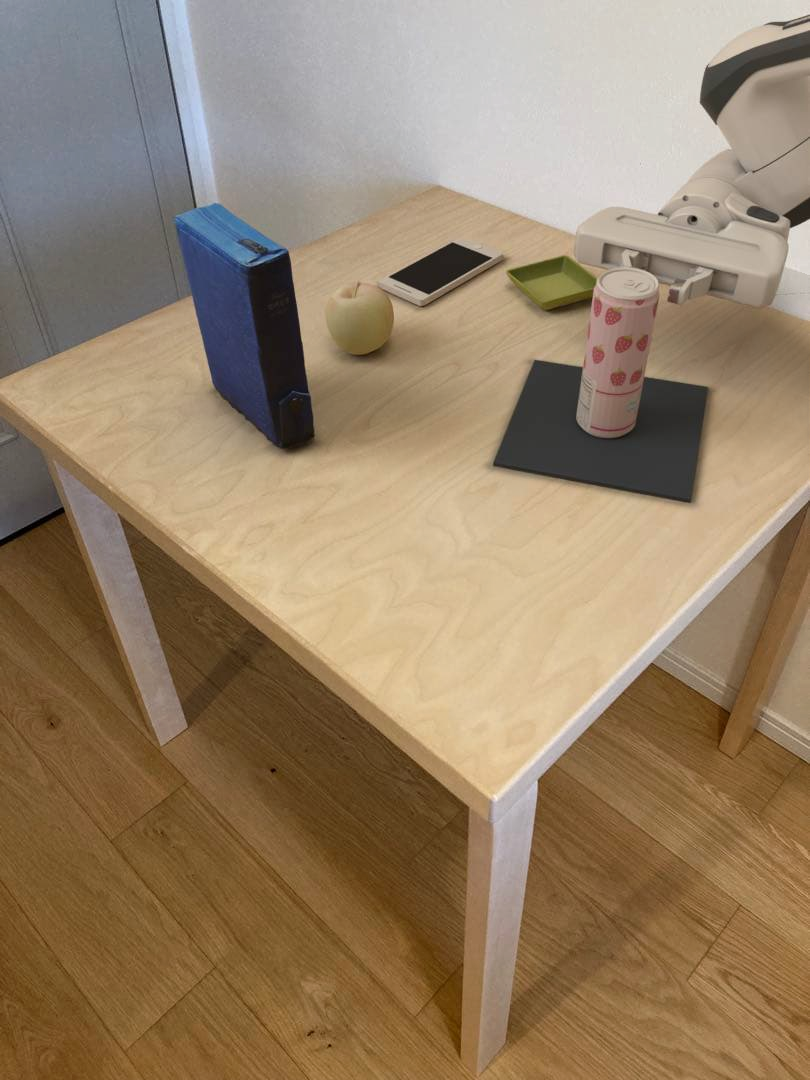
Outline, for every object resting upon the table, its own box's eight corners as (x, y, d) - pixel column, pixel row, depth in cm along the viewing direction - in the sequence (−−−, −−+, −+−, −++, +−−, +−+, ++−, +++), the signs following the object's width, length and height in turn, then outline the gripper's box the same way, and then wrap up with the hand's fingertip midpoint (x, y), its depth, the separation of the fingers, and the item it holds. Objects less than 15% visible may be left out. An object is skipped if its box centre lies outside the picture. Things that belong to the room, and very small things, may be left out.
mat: (707, 389, 91) (708, 386, 91) (690, 502, 79) (691, 499, 79) (534, 362, 96) (534, 359, 95) (493, 465, 84) (493, 462, 83)
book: (325, 440, 87) (303, 246, 73) (278, 462, 85) (247, 266, 71) (250, 375, 95) (218, 190, 81) (206, 393, 93) (165, 206, 79)
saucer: (503, 285, 108) (504, 269, 106) (564, 269, 110) (566, 253, 109) (540, 319, 102) (542, 302, 101) (604, 301, 104) (607, 285, 103)
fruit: (405, 355, 97) (403, 288, 92) (341, 370, 95) (335, 303, 90) (380, 322, 102) (377, 256, 97) (319, 335, 101) (312, 270, 95)
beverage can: (634, 443, 85) (662, 300, 74) (573, 436, 86) (592, 295, 75) (635, 408, 89) (662, 268, 78) (577, 402, 90) (596, 263, 79)
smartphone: (504, 259, 112) (504, 251, 112) (421, 307, 104) (421, 300, 104) (460, 242, 116) (461, 235, 115) (377, 287, 108) (377, 280, 107)
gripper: (607, 180, 94) (550, 233, 85) (808, 222, 86) (766, 285, 77) (600, 238, 98) (545, 293, 90) (789, 283, 90) (748, 348, 82)
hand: (649, 290), depth 83 cm, fingers open, 4 cm apart
